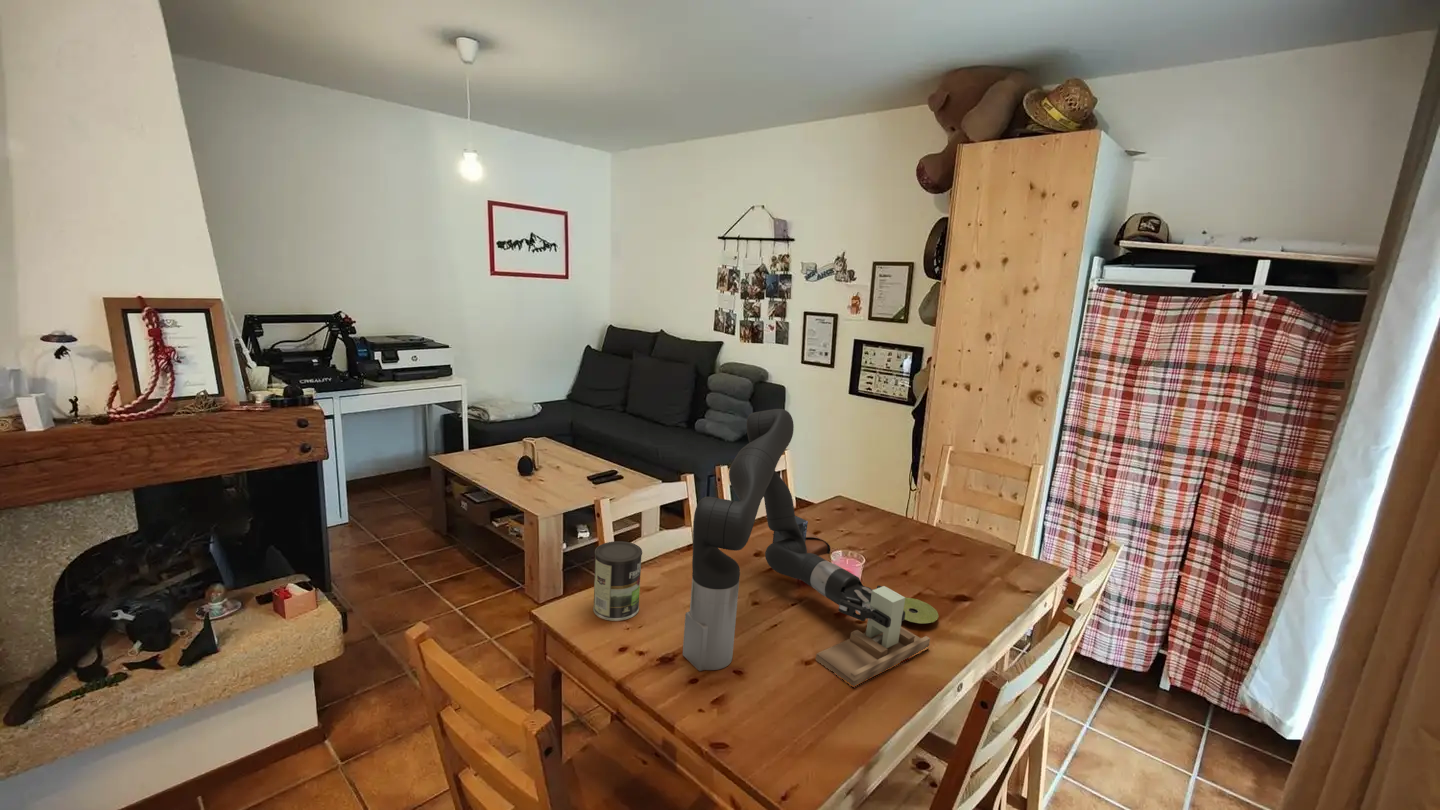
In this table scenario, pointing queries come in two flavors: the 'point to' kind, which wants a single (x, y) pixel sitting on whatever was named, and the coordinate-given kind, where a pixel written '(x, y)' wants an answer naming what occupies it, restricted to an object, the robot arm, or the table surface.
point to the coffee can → (617, 580)
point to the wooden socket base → (869, 655)
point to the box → (801, 524)
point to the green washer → (919, 611)
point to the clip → (891, 607)
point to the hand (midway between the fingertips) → (896, 619)
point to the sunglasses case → (816, 544)
